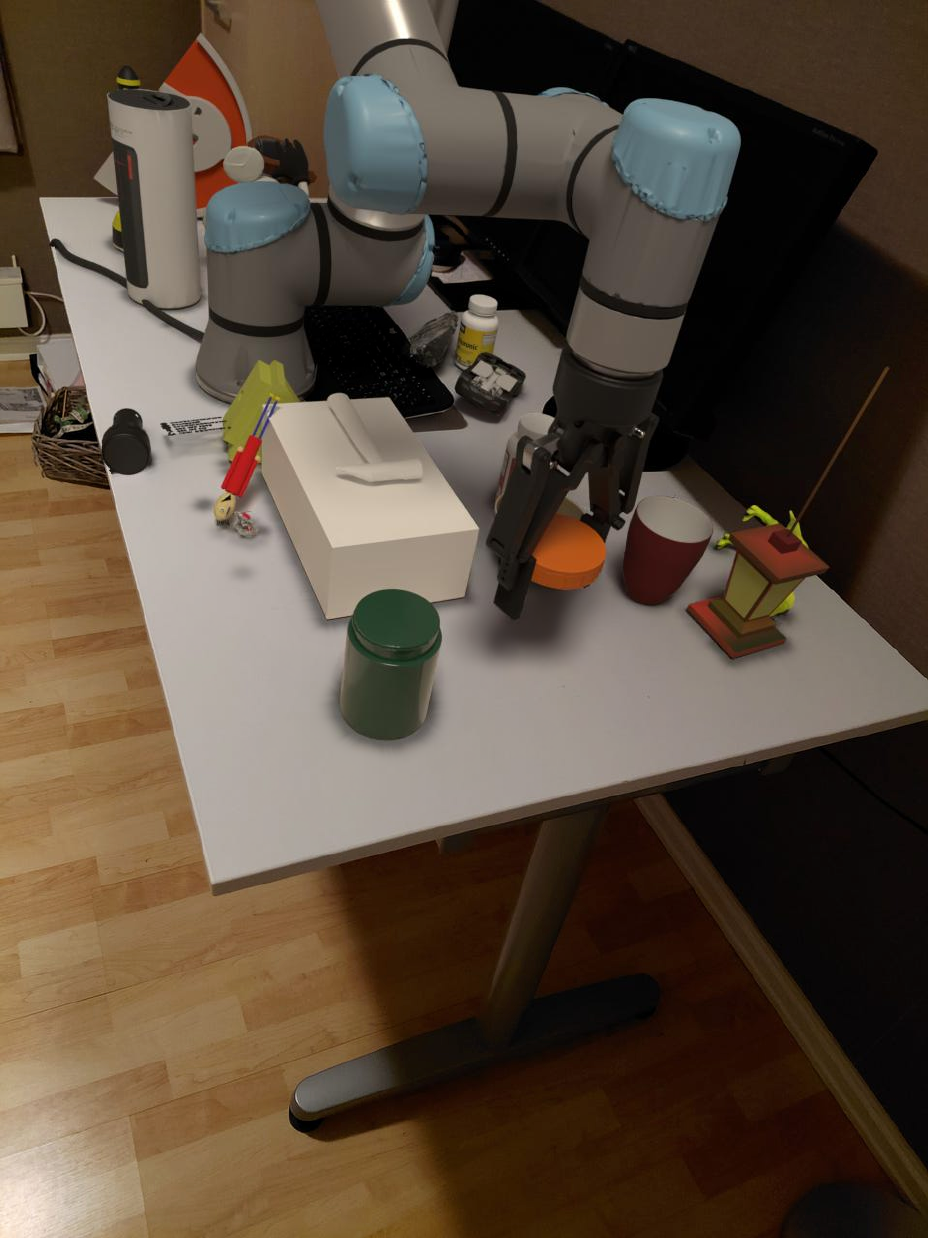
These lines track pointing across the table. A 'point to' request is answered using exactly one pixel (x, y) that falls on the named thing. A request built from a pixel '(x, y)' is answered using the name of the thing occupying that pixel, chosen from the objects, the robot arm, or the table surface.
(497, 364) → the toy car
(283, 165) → the toy
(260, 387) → the bracket
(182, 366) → the table surface
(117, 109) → the speaker
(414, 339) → the rock
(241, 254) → the robot arm
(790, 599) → the dinosaur figurine
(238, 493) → the figurine
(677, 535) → the mug
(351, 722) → the jar
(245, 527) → the figurine
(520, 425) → the pill bottle
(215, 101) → the wall plaque
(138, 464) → the flashlight
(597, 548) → the lid
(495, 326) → the supplement bottle
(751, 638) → the light fixture
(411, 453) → the hammer relief block
